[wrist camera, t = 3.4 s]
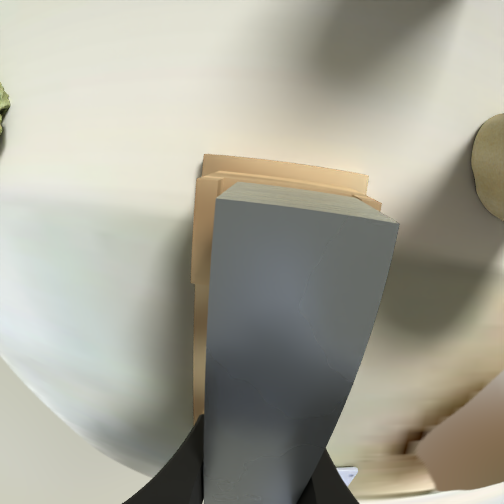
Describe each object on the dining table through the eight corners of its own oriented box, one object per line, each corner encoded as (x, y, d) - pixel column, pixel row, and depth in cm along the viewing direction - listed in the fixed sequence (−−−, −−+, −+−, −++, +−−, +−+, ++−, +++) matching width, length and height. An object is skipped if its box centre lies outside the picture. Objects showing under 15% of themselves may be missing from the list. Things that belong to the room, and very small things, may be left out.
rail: (263, 518, 13) (260, 559, 10) (212, 513, 13) (205, 553, 10) (355, 197, 8) (399, 223, 5) (237, 181, 8) (215, 198, 5)
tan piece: (297, 442, 20) (299, 498, 15) (196, 430, 20) (181, 484, 15) (364, 174, 14) (406, 186, 9) (207, 154, 14) (174, 155, 9)
